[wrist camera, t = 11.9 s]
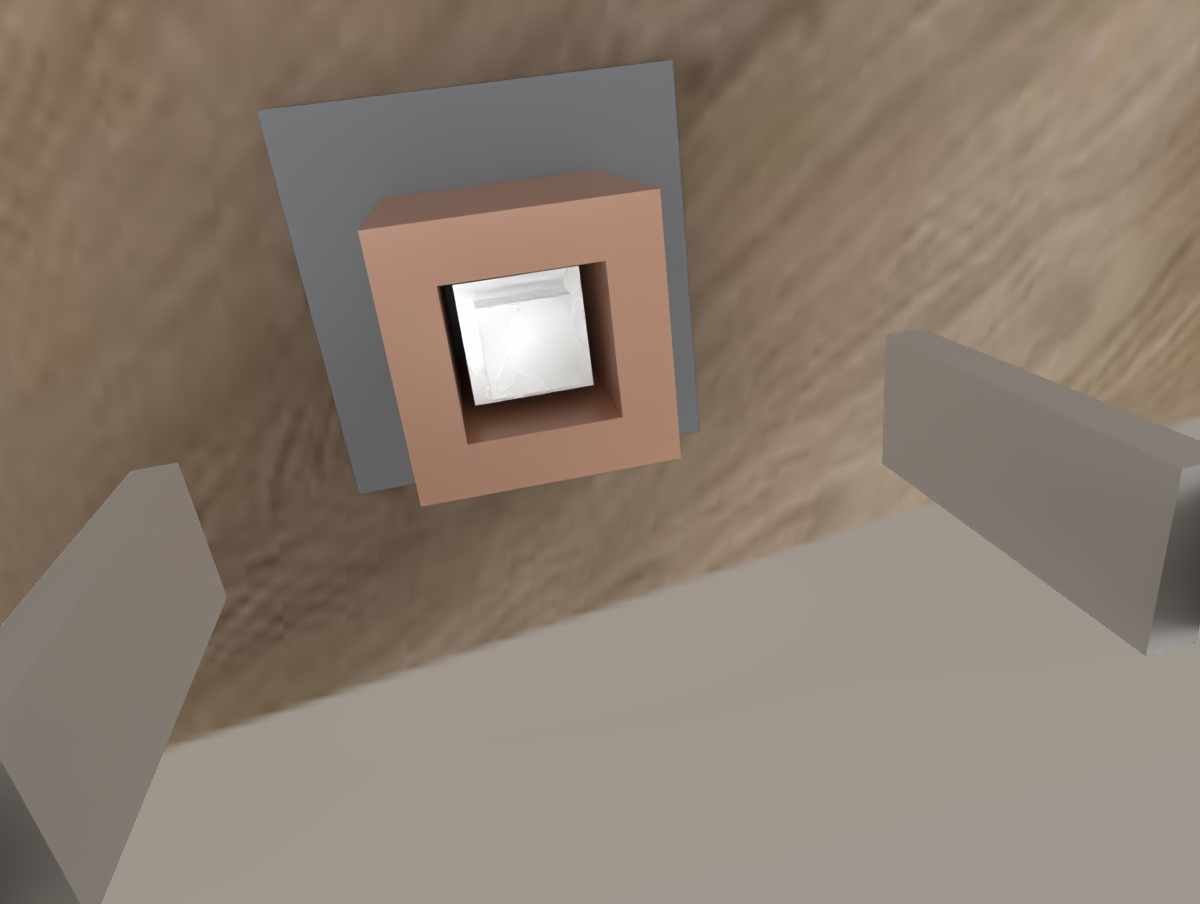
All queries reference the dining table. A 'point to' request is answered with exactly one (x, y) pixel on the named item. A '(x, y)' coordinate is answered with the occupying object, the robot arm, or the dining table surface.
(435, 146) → the shaft plate
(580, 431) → the square open box
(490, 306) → the square shaft
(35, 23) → the dining table surface
